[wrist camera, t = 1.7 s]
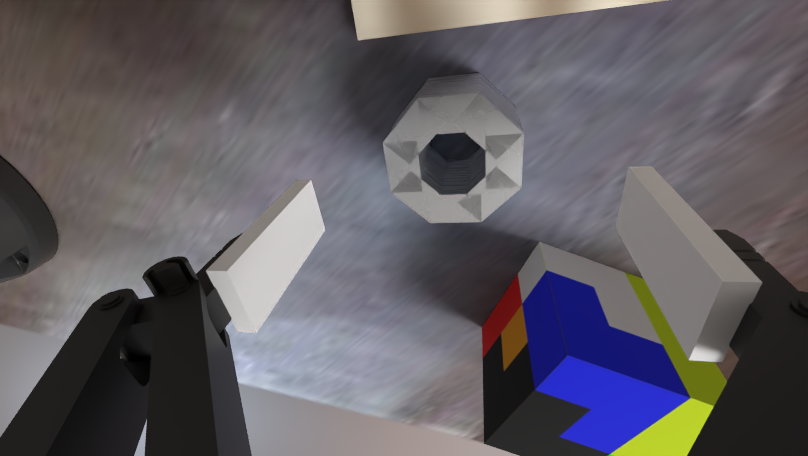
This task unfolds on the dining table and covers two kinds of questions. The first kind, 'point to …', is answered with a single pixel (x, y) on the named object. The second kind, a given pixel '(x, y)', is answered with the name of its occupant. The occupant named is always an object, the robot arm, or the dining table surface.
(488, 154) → the octagonal tube
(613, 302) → the puzzle toy
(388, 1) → the carrier
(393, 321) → the dining table surface
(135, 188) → the dining table surface
